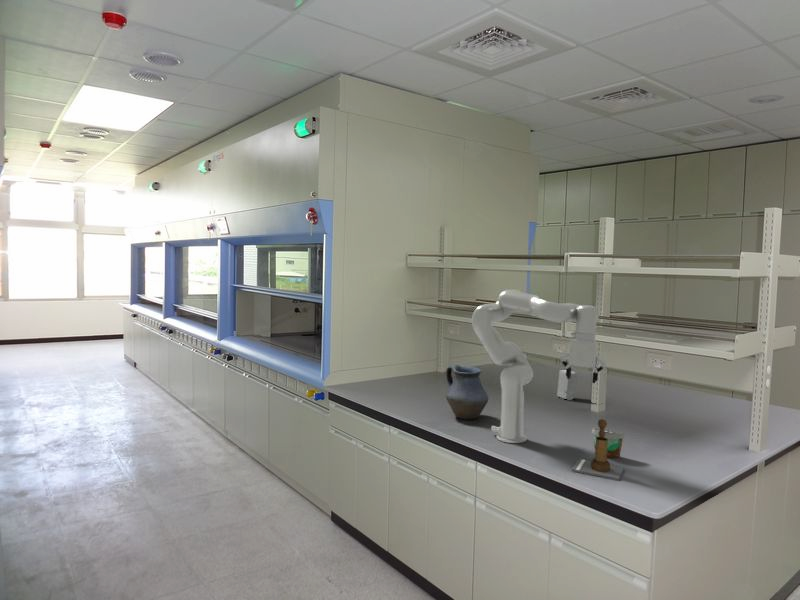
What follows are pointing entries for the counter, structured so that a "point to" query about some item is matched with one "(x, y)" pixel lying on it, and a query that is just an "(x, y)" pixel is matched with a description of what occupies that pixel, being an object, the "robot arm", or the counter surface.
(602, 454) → the brown wooden turned post
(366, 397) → the counter surface
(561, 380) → the skincare box
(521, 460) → the counter surface
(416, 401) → the counter surface
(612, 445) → the food container
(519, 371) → the robot arm
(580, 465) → the mat
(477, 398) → the pitcher
